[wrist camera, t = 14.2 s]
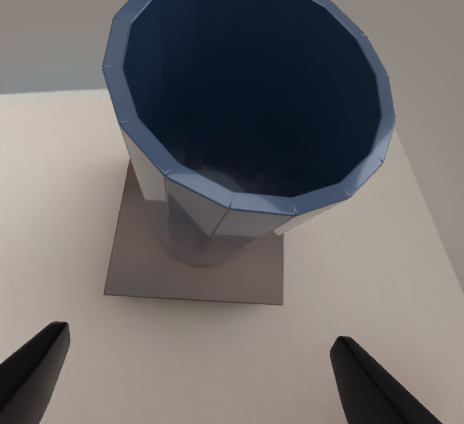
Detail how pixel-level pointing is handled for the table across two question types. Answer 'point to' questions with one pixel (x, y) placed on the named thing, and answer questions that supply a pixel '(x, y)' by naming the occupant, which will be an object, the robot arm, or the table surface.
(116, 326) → the table surface
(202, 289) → the stand
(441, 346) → the table surface
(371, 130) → the tumbler
